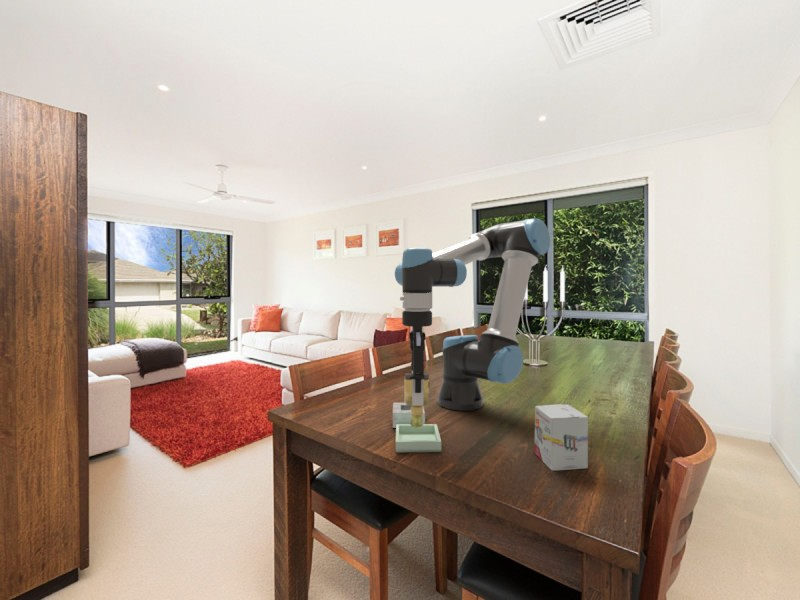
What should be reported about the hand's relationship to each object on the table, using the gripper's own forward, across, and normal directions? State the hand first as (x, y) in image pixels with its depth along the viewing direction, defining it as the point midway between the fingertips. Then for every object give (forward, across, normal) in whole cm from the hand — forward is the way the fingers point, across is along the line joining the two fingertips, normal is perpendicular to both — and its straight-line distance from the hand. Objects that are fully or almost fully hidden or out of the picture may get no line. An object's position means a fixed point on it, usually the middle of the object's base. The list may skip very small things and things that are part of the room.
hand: (417, 400), depth 91 cm
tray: (+11, 0, 0) cm, 11 cm away
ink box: (+11, +10, +32) cm, 35 cm away
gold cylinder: (+6, 0, 0) cm, 6 cm away
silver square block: (+11, -13, -2) cm, 17 cm away
